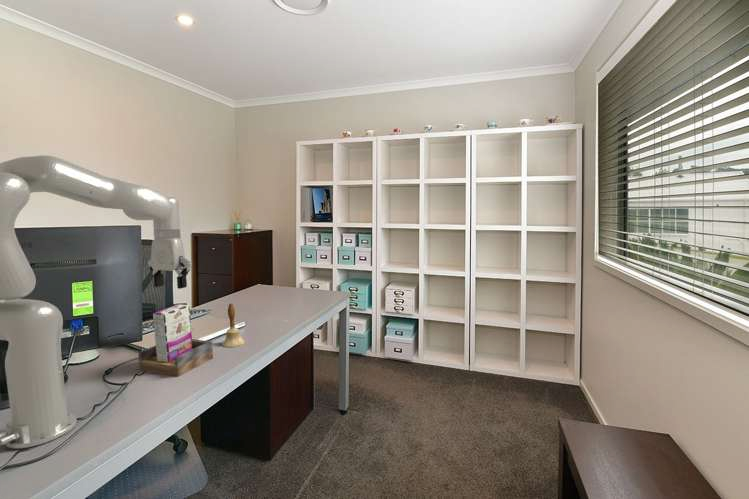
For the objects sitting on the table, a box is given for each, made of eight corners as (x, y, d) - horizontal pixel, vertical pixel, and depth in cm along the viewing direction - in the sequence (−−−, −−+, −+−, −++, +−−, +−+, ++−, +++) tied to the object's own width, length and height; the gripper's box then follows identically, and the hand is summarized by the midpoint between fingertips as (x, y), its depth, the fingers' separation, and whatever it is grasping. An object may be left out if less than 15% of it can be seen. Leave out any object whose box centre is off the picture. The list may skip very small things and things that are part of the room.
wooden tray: (178, 376, 115) (177, 358, 114) (139, 370, 120) (138, 352, 119) (213, 358, 129) (212, 341, 128) (177, 353, 134) (176, 337, 133)
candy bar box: (181, 349, 129) (178, 303, 127) (193, 350, 128) (190, 304, 126) (155, 362, 118) (151, 312, 117) (168, 363, 117) (164, 313, 115)
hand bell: (237, 348, 138) (235, 306, 136) (217, 347, 139) (215, 306, 138) (248, 340, 146) (246, 301, 145) (229, 339, 148) (227, 300, 146)
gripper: (136, 235, 118) (140, 287, 120) (178, 236, 113) (182, 290, 114) (157, 234, 125) (160, 283, 127) (197, 235, 120) (200, 286, 121)
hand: (170, 287), depth 121 cm, fingers open, 9 cm apart
